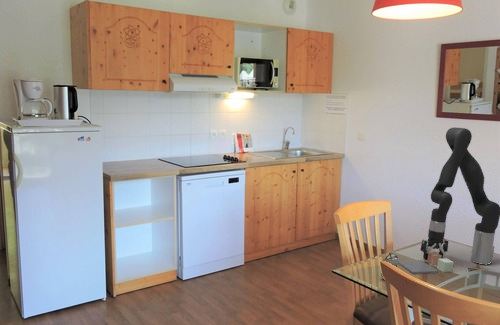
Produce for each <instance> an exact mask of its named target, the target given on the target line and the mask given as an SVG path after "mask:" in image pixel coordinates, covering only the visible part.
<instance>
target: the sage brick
mask: <svg viewBox="0 0 500 325" xmlns="http://www.w3.org/2000/svg"><path fill="white" fill-rule="evenodd" d="M436 266H437V267H436V268H437V270H438V271H439V270H440V271H441V272H442V273H452V272H453V268H454V261H452V260H450V259H449V258H447V257H446V258H444V257H443V259H438V265H436Z"/></svg>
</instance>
